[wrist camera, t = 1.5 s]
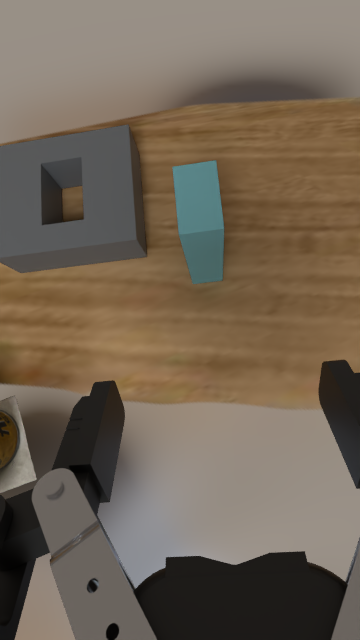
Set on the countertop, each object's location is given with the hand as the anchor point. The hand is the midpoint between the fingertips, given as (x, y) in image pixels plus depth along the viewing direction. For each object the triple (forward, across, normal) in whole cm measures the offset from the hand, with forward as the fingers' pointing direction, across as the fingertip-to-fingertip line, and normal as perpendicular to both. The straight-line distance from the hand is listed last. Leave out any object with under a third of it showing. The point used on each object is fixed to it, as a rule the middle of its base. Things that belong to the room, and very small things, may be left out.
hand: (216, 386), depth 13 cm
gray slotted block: (+27, +13, 0) cm, 30 cm away
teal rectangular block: (+22, 0, +5) cm, 23 cm away
